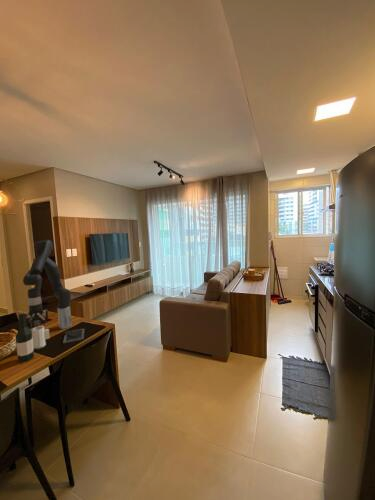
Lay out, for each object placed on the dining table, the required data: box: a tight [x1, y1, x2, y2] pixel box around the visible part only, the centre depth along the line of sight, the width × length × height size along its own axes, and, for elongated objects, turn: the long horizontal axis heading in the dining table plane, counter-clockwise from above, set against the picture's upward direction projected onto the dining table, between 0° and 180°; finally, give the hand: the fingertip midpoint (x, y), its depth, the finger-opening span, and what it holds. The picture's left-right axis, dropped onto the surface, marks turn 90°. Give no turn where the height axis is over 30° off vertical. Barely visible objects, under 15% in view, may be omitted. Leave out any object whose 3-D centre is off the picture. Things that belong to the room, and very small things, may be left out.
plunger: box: [33, 319, 41, 330], centre depth 149 cm, size 5×5×13 cm
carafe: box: [30, 325, 50, 350], centre depth 150 cm, size 10×8×13 cm
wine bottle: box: [15, 312, 35, 363], centre depth 134 cm, size 8×8×30 cm
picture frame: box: [62, 328, 85, 345], centre depth 163 cm, size 13×2×18 cm
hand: (37, 326), depth 149 cm, fingers open, 7 cm apart
